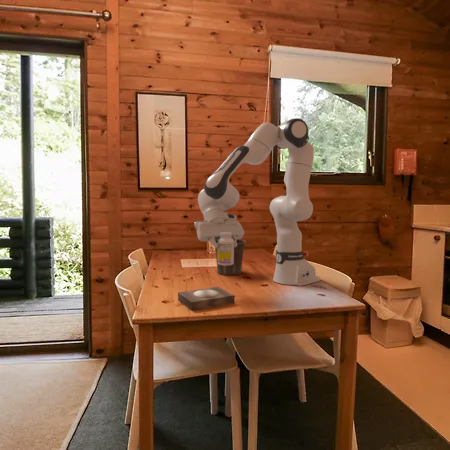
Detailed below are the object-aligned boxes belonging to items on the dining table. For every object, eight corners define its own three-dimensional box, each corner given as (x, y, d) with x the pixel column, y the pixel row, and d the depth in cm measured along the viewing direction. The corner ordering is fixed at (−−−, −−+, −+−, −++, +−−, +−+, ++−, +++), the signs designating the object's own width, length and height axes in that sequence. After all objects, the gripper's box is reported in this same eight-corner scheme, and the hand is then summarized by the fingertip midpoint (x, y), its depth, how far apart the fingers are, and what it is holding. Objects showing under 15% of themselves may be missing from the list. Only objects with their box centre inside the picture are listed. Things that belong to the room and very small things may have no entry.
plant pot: (242, 277, 165) (243, 244, 164) (210, 275, 168) (210, 242, 167) (247, 270, 181) (247, 239, 180) (217, 268, 184) (217, 238, 183)
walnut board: (218, 294, 138) (218, 286, 138) (234, 303, 127) (234, 294, 126) (178, 300, 130) (178, 291, 130) (191, 310, 119) (191, 301, 118)
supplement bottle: (224, 261, 144) (225, 231, 143) (237, 264, 140) (237, 232, 139) (213, 264, 139) (214, 232, 138) (226, 266, 135) (227, 233, 133)
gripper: (195, 216, 139) (205, 243, 131) (239, 215, 148) (250, 240, 141) (190, 226, 143) (200, 253, 135) (233, 224, 153) (244, 250, 145)
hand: (226, 247), depth 138 cm, fingers closed on supplement bottle, 7 cm apart
